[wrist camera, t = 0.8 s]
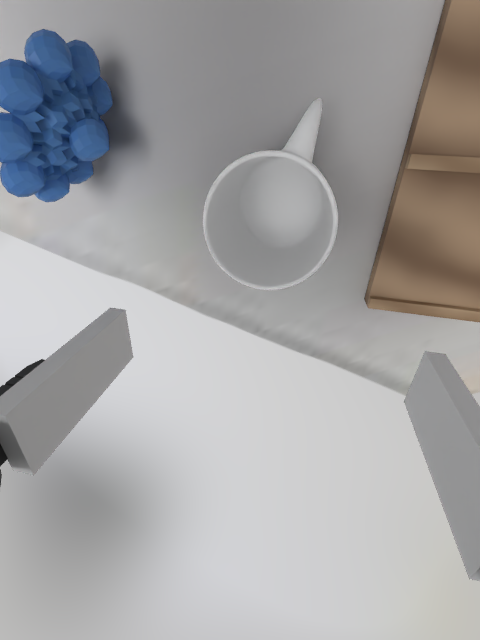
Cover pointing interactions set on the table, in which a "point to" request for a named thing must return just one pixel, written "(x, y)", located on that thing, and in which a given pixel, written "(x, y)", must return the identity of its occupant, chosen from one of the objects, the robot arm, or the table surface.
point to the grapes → (51, 117)
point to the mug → (273, 213)
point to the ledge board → (438, 186)
